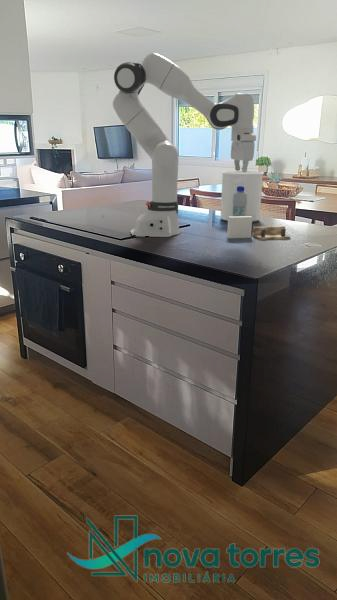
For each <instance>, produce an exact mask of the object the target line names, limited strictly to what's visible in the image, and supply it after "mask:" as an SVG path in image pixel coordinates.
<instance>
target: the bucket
mask: <svg viewBox="0 0 337 600" xmlns="http://www.w3.org/2000/svg"><path fill="white" fill-rule="evenodd" d="M220 173H221V175H222V180H221V201H220V203H221V204H220V220H221V221H222V222H226V223H228V217H231V216H233V196H234V193H235V192H237V187H238V186H243V187H244V191H243V192H245V193H247V204H246V213H245V216H251V217H252V224H255V223H257V222H259V221H260V218H261V217H260V216H261V215H260V214H261V203H262V189H263V178H264V177H263V176H264V175H265V172H263V171H259V170H258V171H256V170H254V171H253V170H247V172H242V170H239V171H236V170H224V171H221V172H220Z"/></svg>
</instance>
